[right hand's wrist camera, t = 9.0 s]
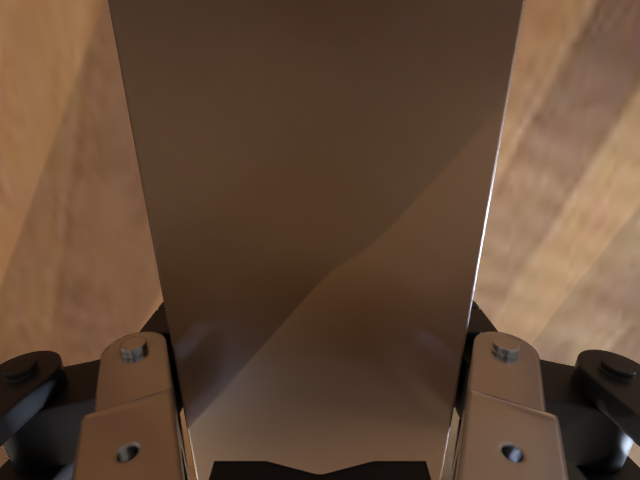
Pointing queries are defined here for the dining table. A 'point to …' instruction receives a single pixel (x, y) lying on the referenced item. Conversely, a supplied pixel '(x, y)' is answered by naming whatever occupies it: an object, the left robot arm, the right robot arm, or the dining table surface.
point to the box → (317, 213)
